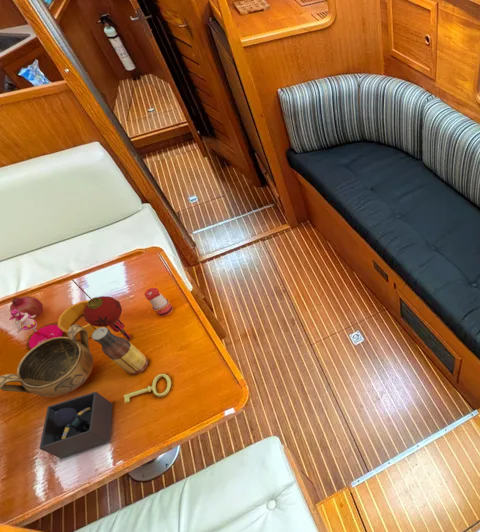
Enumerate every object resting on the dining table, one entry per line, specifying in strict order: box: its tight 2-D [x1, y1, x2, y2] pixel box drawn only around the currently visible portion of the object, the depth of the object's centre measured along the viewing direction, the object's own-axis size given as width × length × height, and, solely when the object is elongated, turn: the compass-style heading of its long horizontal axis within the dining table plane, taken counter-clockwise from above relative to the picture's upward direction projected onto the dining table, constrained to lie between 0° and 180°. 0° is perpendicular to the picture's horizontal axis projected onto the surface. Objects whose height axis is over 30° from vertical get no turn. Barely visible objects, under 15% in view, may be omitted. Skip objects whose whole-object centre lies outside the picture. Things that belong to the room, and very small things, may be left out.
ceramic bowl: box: [0, 323, 95, 398], centre depth 114 cm, size 22×17×15 cm
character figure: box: [54, 407, 91, 439], centre depth 104 cm, size 9×4×12 cm, turn 163°
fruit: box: [9, 295, 44, 320], centre depth 130 cm, size 8×8×10 cm
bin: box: [38, 391, 114, 460], centre depth 106 cm, size 12×12×8 cm
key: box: [123, 373, 172, 404], centre depth 115 cm, size 7×12×2 cm, turn 133°
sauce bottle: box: [91, 326, 149, 375], centre depth 114 cm, size 7×6×20 cm
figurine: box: [8, 309, 64, 350], centre depth 123 cm, size 10×10×15 cm
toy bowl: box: [56, 300, 106, 341], centre depth 130 cm, size 12×13×5 cm
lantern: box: [71, 279, 132, 341], centre depth 117 cm, size 10×10×30 cm
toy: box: [144, 287, 174, 317], centre depth 130 cm, size 5×8×15 cm
